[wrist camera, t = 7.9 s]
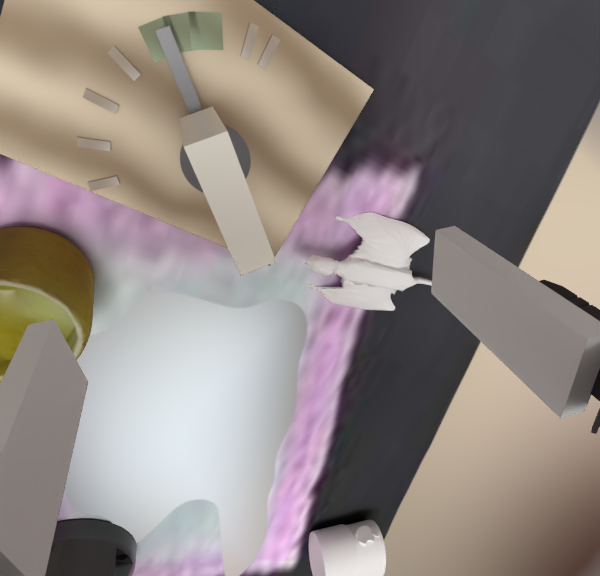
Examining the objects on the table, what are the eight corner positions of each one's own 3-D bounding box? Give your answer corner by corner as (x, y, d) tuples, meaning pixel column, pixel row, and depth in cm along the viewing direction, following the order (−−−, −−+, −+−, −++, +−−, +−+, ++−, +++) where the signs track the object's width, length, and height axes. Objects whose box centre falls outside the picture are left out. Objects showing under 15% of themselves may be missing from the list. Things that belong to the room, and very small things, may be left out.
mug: (-44, 182, 28) (-60, 295, 22) (111, 228, 35) (129, 322, 29) (-88, 300, 33) (-109, 416, 27) (55, 318, 40) (61, 413, 35)
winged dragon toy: (467, 237, 44) (493, 254, 41) (424, 317, 48) (443, 338, 45) (315, 194, 37) (330, 211, 34) (279, 292, 41) (290, 315, 38)
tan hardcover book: (264, 253, 38) (270, 267, 36) (-19, 132, 28) (-35, 141, 26) (361, 86, 33) (375, 90, 31) (57, -138, 23) (44, -157, 21)
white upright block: (203, 217, 33) (217, 284, 24) (123, 41, 26) (101, 46, 17) (264, 194, 33) (298, 252, 24) (200, 15, 26) (217, 6, 17)
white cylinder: (313, 516, 63) (330, 573, 57) (369, 505, 66) (392, 558, 59) (303, 560, 69) (317, 616, 62) (355, 548, 72) (374, 600, 65)
